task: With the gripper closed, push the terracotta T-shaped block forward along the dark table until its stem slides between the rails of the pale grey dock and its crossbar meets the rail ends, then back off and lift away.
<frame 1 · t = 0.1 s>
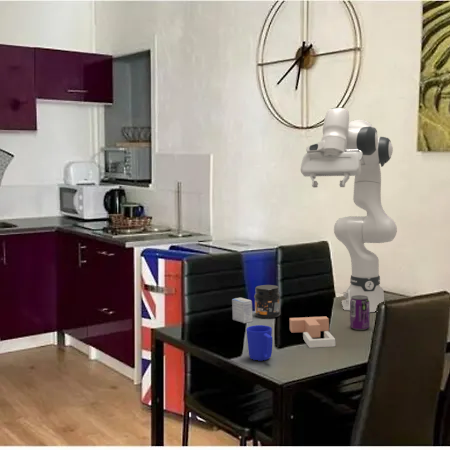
hand: (328, 186, 218), 54 cm above the table, tool tilted 30°, fingers open, 8 cm apart
supplement container: (267, 316, 268), on the table
dock: (318, 342, 228), on the table
medicine box: (242, 321, 261), on the table
beverage can: (359, 329, 244), on the table
t block: (311, 333, 240), on the table
mug: (262, 360, 209), on the table
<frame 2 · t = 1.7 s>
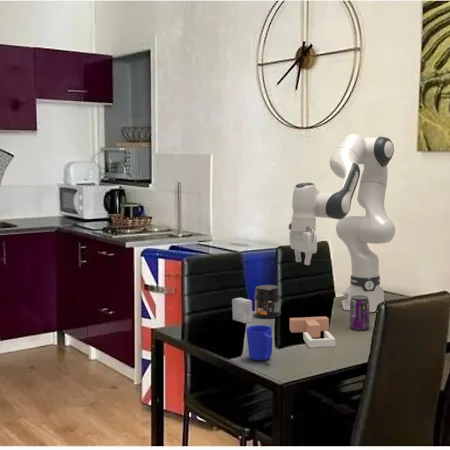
hand: (302, 263, 244), 25 cm above the table, tool pointing down, fingers open, 8 cm apart
nothing on the table moved.
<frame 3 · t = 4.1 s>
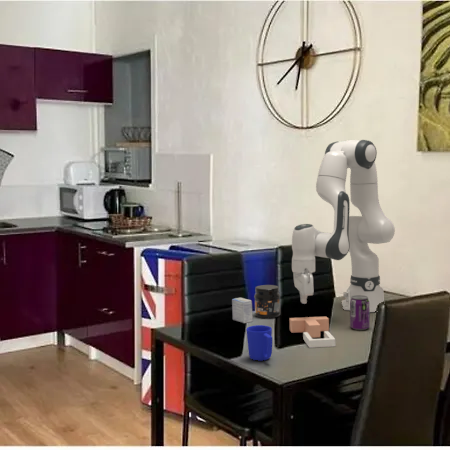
hand: (303, 302, 250), 9 cm above the table, tool pointing down, fingers closed
nothing on the table moved.
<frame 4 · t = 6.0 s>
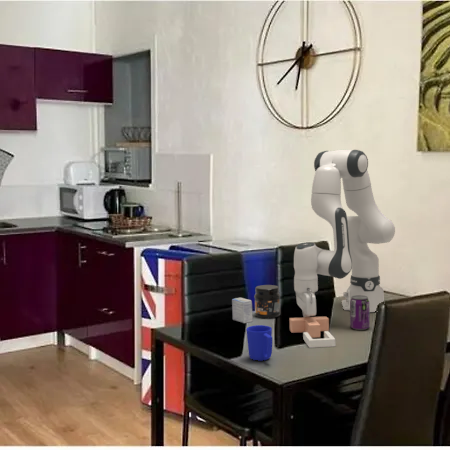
hand: (306, 322, 247), 2 cm above the table, tool pointing down, fingers closed
t block: (311, 333, 240), on the table, touching gripper
everything else where it was.
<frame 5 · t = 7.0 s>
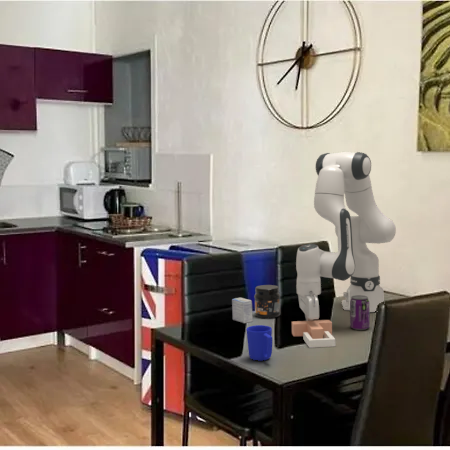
hand: (309, 325, 242), 2 cm above the table, tool pointing down, fingers closed
t block: (314, 337, 234), on the table, touching gripper
everything else where it was.
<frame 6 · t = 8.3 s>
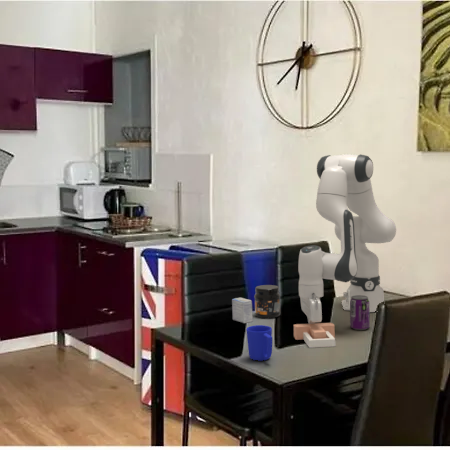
hand: (311, 328, 237), 2 cm above the table, tool pointing down, fingers closed
t block: (316, 340, 230), on the table, touching dock, gripper
everything else where it was.
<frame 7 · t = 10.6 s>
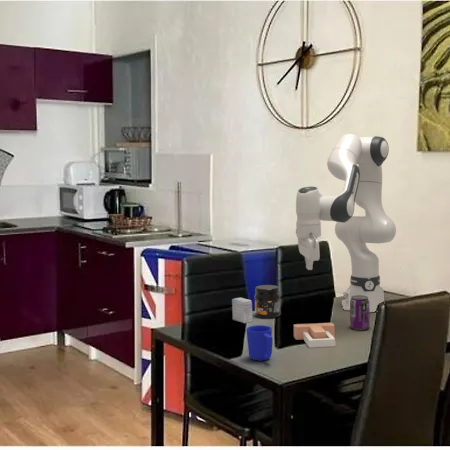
hand: (309, 269, 239), 23 cm above the table, tool pointing down, fingers closed
t block: (316, 340, 230), on the table
everything else where it was.
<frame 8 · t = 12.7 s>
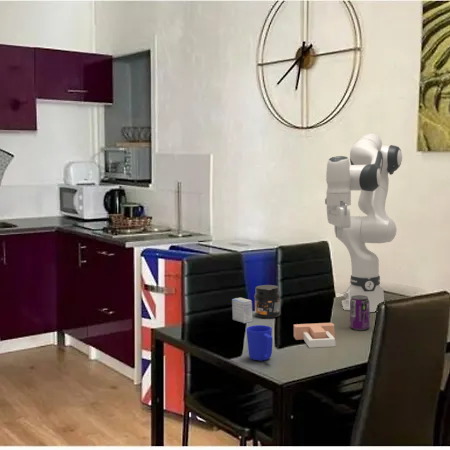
hand: (339, 237, 242), 34 cm above the table, tool pointing down, fingers closed
nothing on the table moved.
at the end: t block 0.5 cm from the target spot on the dock, point 0.0 cm above the dock's base; t block tilted 0°; t block moved 9.5 cm from its start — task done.
